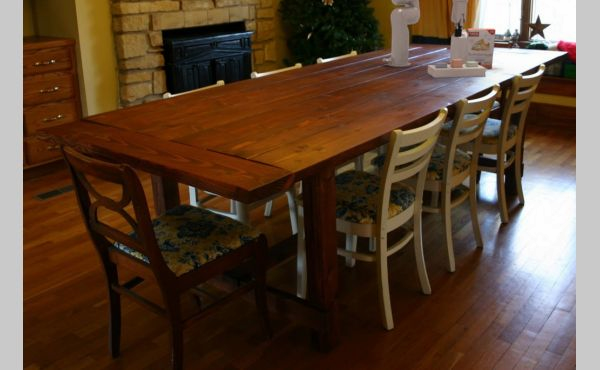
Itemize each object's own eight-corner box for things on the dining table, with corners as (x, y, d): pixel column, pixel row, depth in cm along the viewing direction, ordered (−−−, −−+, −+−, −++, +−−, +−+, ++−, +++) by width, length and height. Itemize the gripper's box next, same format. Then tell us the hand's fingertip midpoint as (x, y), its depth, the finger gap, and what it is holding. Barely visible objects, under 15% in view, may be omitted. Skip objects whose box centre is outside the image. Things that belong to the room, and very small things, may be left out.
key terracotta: (453, 70, 318) (453, 60, 316) (450, 68, 322) (450, 59, 321) (462, 70, 318) (462, 60, 316) (459, 68, 323) (460, 58, 321)
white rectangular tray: (434, 77, 314) (435, 69, 312) (427, 73, 327) (427, 65, 326) (485, 76, 315) (485, 68, 314) (476, 71, 328) (476, 63, 327)
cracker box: (465, 68, 337) (468, 29, 330) (464, 67, 343) (467, 28, 336) (492, 68, 335) (495, 29, 328) (490, 67, 341) (494, 28, 334)
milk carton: (449, 63, 355) (451, 29, 349) (459, 62, 358) (461, 28, 352) (457, 65, 349) (459, 30, 343) (467, 64, 352) (470, 29, 346)
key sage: (468, 72, 319) (468, 63, 317) (465, 71, 323) (465, 61, 322) (477, 72, 319) (478, 62, 317) (474, 70, 324) (474, 61, 322)
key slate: (437, 73, 318) (438, 63, 316) (434, 72, 322) (435, 62, 321) (446, 73, 318) (447, 63, 316) (444, 71, 323) (444, 62, 321)
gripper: (448, -2, 315) (446, 35, 322) (457, 0, 301) (454, 38, 308) (463, -2, 316) (460, 35, 322) (472, 0, 302) (469, 38, 308)
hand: (457, 36), depth 315 cm, fingers closed
